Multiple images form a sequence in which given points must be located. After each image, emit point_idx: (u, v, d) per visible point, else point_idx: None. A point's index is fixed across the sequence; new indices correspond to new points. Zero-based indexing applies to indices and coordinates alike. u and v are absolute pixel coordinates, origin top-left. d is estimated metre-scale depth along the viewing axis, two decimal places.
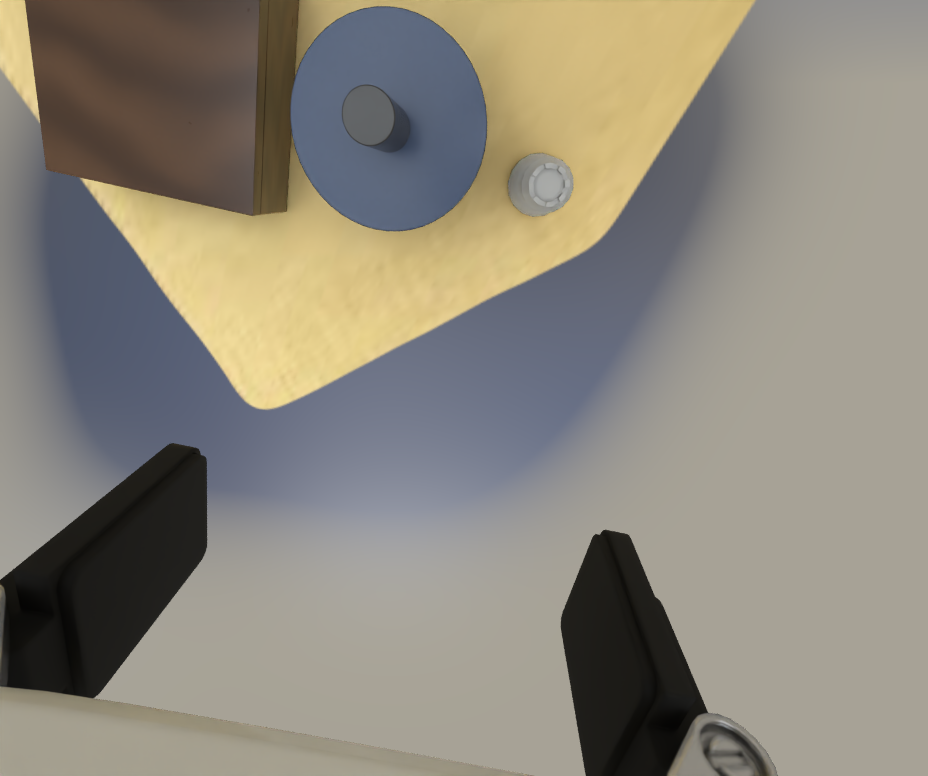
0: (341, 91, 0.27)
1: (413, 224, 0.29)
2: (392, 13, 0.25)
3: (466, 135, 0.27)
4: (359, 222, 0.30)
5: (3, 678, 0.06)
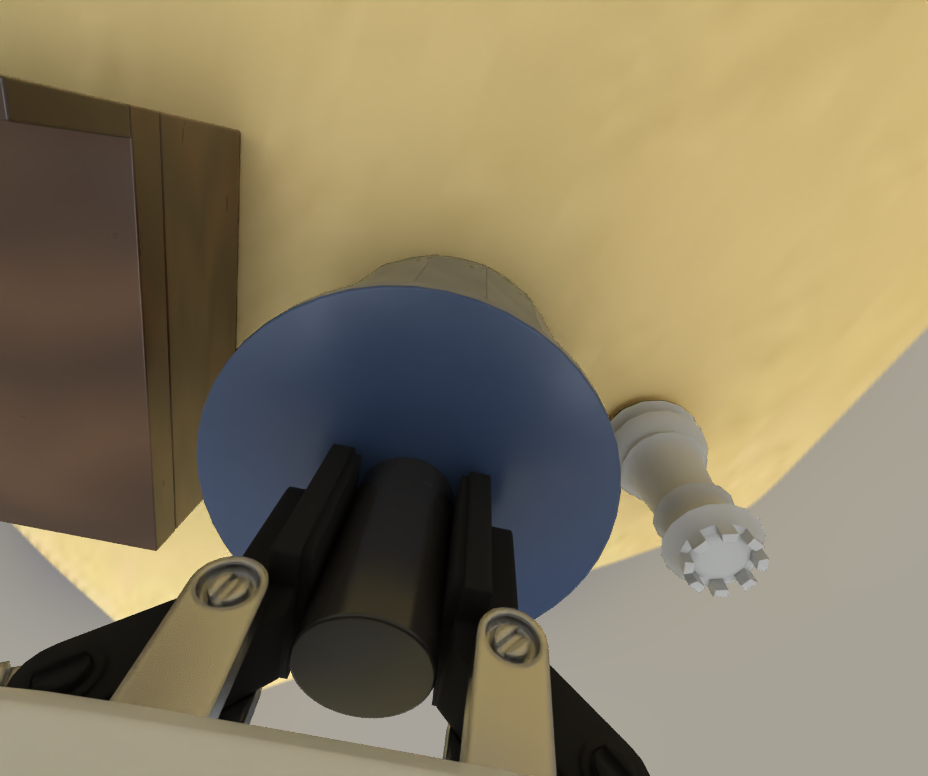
0: (305, 436, 0.12)
1: None
2: (419, 300, 0.11)
3: (574, 513, 0.13)
4: None
5: (234, 668, 0.07)
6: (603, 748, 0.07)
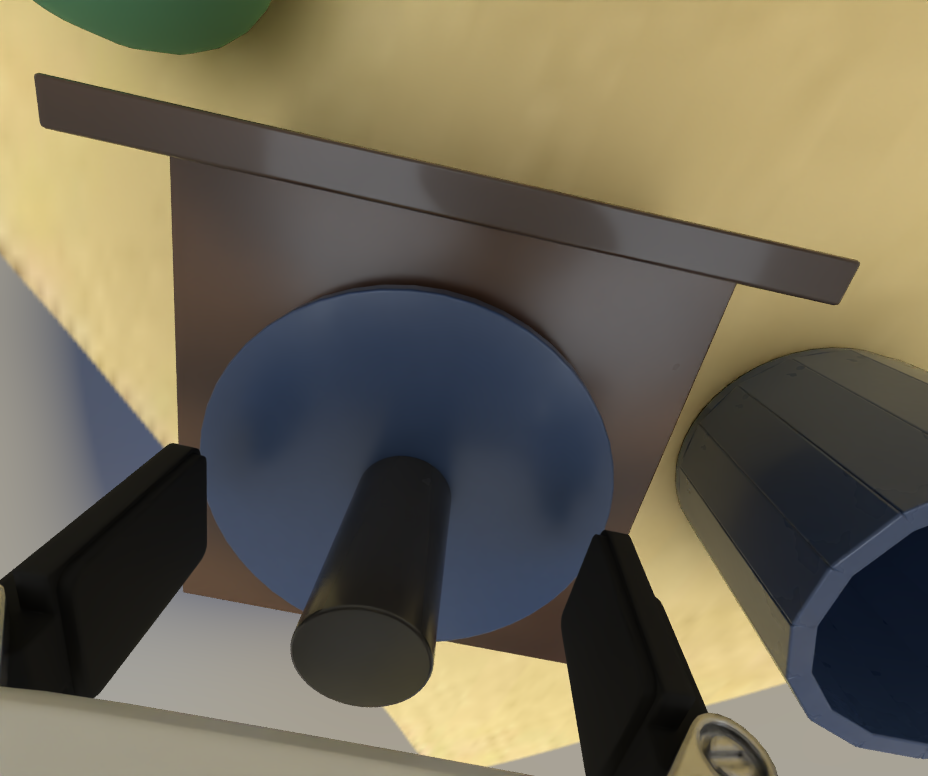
0: (305, 435, 0.13)
1: (452, 635, 0.15)
2: (417, 302, 0.11)
3: (568, 511, 0.13)
4: None
5: (3, 678, 0.06)
6: None
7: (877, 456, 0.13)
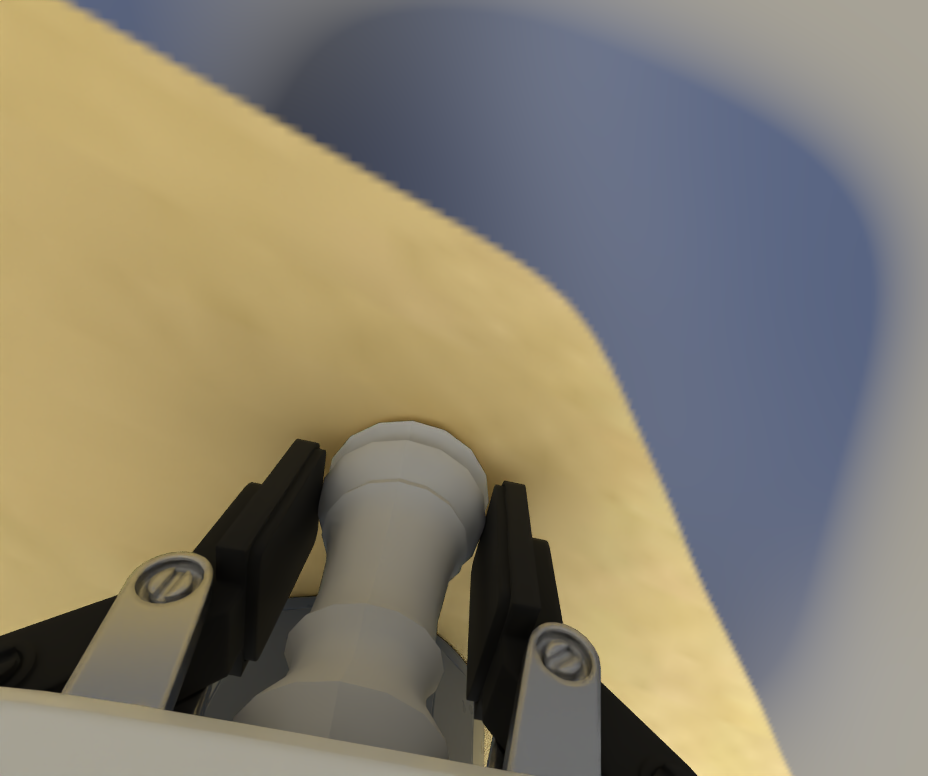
0: None
1: None
2: None
3: None
4: None
5: (186, 660, 0.07)
6: (662, 768, 0.07)
7: None
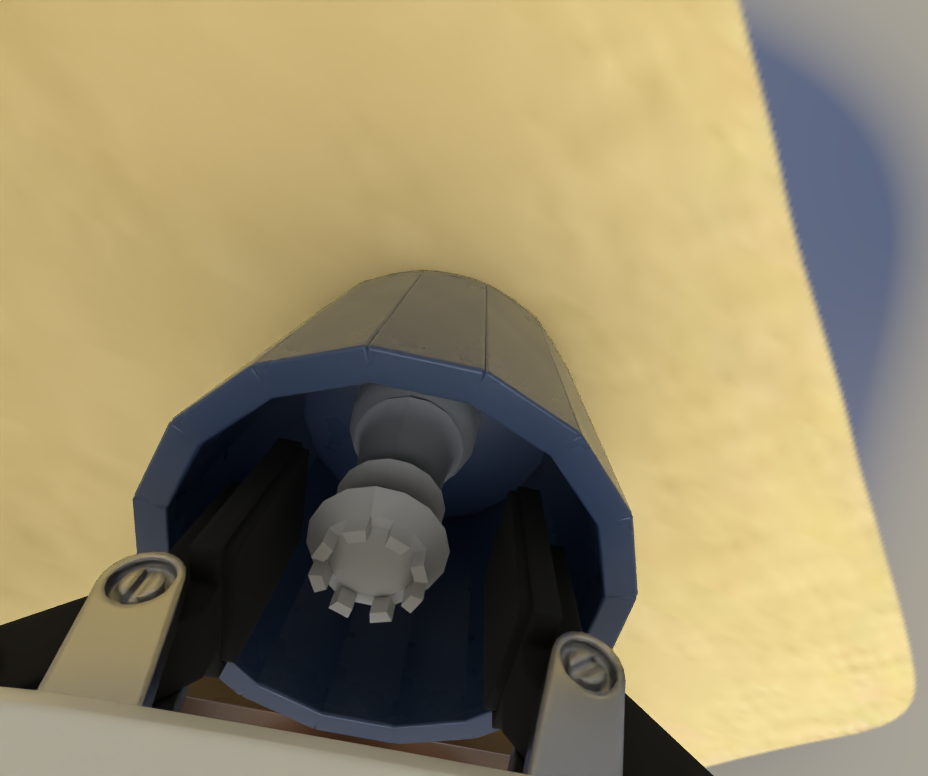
0: None
1: None
2: None
3: None
4: None
5: (162, 658, 0.07)
6: None
7: None
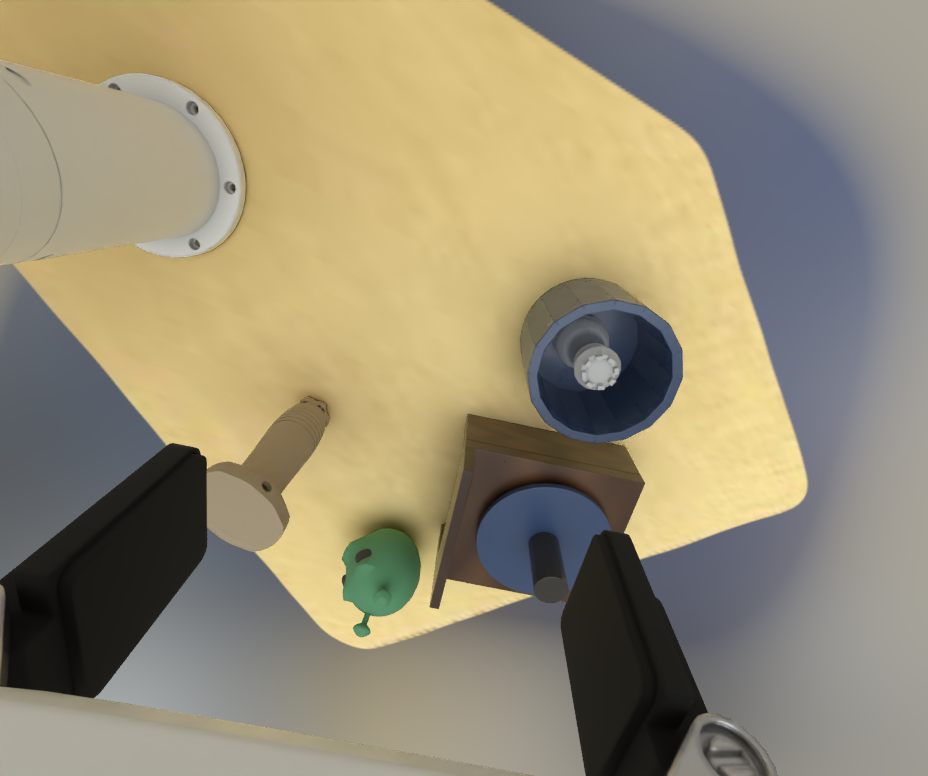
0: (520, 566, 0.41)
1: None
2: (479, 536, 0.40)
3: (552, 499, 0.38)
4: None
5: (3, 678, 0.06)
6: None
7: None
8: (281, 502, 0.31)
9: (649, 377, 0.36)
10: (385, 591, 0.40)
